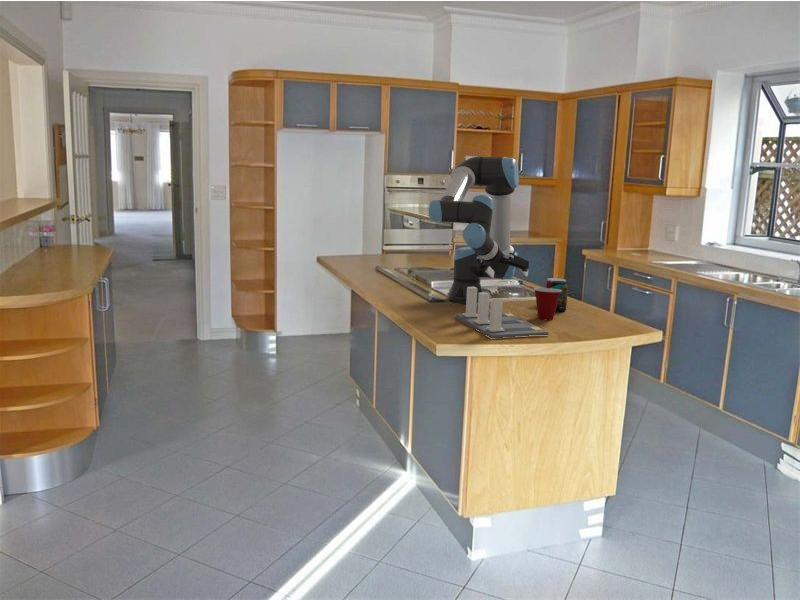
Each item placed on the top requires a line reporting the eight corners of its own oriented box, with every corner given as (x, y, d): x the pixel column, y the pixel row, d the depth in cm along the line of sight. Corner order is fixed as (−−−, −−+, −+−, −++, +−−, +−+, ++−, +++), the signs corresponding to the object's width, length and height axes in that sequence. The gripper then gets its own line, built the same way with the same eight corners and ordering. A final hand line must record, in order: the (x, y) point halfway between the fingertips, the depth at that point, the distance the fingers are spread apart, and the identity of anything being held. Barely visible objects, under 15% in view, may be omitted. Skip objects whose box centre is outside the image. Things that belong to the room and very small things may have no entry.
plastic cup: (559, 316, 281) (561, 286, 278) (559, 322, 270) (562, 291, 268) (531, 314, 283) (534, 285, 280) (531, 320, 272) (533, 289, 270)
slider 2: (473, 321, 260) (475, 292, 258) (486, 320, 261) (487, 291, 259) (478, 324, 256) (480, 294, 254) (491, 323, 257) (492, 294, 255)
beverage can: (566, 313, 287) (568, 284, 285) (548, 311, 289) (551, 283, 286) (565, 309, 294) (567, 281, 292) (548, 308, 295) (550, 280, 293)
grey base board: (455, 317, 273) (455, 313, 273) (507, 315, 280) (507, 311, 279) (491, 339, 242) (491, 334, 242) (548, 336, 249) (548, 331, 249)
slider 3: (486, 328, 250) (487, 298, 247) (499, 328, 251) (500, 297, 249) (491, 331, 246) (493, 300, 243) (504, 331, 247) (506, 300, 245)
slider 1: (462, 314, 270) (463, 286, 268) (474, 314, 272) (476, 286, 269) (466, 317, 266) (468, 288, 264) (479, 316, 268) (480, 288, 265)
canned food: (564, 307, 299) (566, 281, 296) (545, 305, 300) (547, 280, 298) (564, 303, 306) (566, 278, 304) (545, 302, 308) (547, 277, 305)
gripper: (455, 262, 254) (478, 284, 271) (521, 259, 241) (540, 282, 258) (458, 243, 256) (480, 266, 273) (523, 239, 244) (542, 263, 261)
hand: (510, 274), depth 266 cm, fingers open, 13 cm apart
